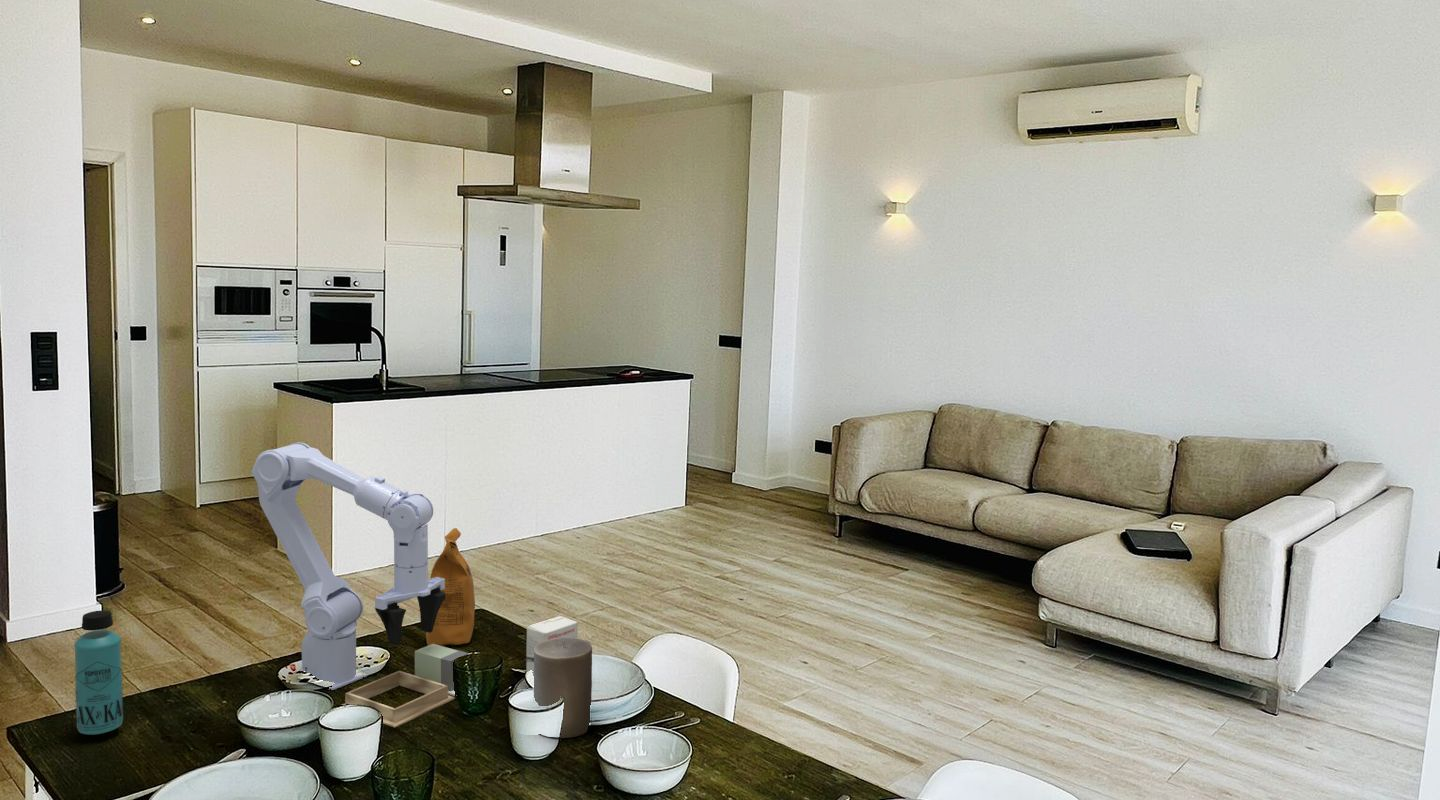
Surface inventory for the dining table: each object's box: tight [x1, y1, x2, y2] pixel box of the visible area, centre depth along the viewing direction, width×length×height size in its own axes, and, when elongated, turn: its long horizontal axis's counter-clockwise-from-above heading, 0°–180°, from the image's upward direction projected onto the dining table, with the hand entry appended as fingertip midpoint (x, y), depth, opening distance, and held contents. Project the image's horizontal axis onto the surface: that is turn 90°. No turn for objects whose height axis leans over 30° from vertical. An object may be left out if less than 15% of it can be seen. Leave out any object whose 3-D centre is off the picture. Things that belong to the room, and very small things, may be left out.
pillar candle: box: [533, 638, 593, 739], centre depth 166 cm, size 10×10×15 cm
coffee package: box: [425, 527, 476, 646], centre depth 204 cm, size 10×12×22 cm
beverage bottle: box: [73, 610, 125, 735], centre depth 157 cm, size 6×7×20 cm
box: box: [414, 644, 470, 691], centre depth 182 cm, size 9×5×6 cm, turn 60°
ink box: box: [525, 615, 579, 676], centre depth 183 cm, size 9×5×12 cm, turn 143°
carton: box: [341, 670, 456, 728], centre depth 173 cm, size 14×14×2 cm
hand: (411, 637), depth 179 cm, fingers open, 7 cm apart
